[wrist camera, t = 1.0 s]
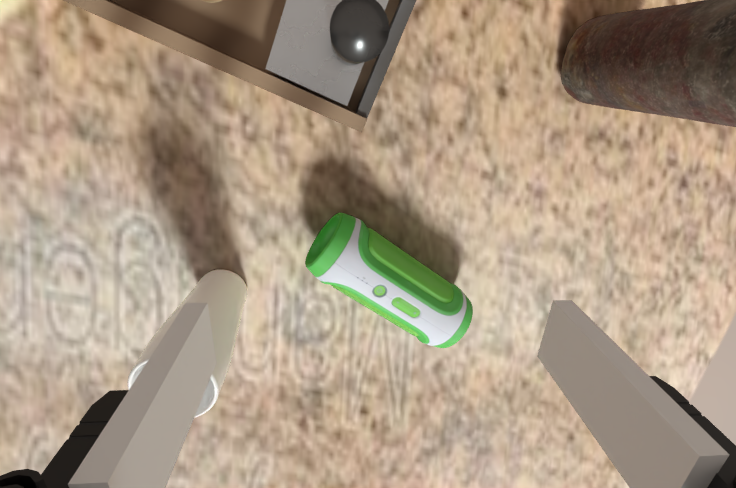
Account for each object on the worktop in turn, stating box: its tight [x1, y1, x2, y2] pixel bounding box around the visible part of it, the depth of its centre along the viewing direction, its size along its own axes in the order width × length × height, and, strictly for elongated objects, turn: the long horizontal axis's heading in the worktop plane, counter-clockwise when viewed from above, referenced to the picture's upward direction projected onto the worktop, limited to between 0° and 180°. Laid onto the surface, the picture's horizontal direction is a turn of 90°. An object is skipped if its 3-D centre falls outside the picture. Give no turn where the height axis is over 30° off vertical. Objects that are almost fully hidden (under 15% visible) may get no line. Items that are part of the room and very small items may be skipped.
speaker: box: [305, 213, 473, 348], centre depth 40 cm, size 18×7×8 cm, turn 52°
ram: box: [266, 0, 389, 106], centre depth 26 cm, size 7×9×13 cm
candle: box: [561, 0, 736, 127], centre depth 27 cm, size 8×7×20 cm
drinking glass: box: [128, 269, 247, 418], centre depth 36 cm, size 7×7×15 cm
